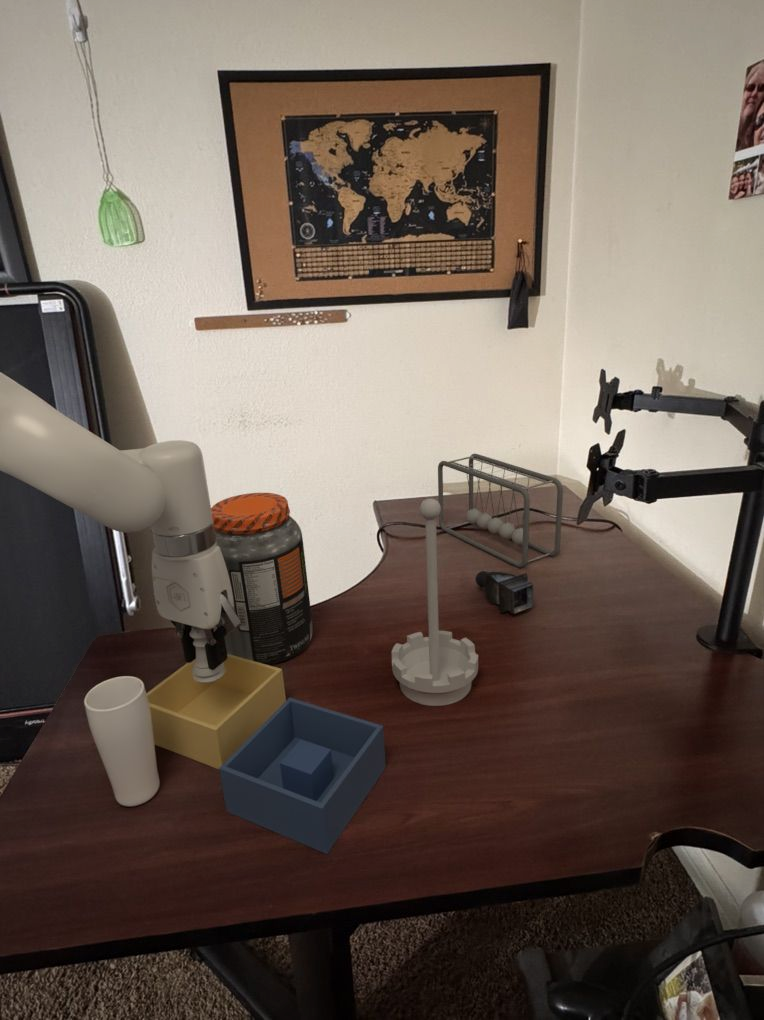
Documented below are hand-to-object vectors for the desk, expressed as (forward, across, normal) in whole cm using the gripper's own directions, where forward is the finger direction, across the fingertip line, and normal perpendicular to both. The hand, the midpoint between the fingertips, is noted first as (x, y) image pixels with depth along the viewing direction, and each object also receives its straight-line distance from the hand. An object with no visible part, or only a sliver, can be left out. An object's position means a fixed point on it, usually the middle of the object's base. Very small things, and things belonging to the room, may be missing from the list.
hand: (206, 659), depth 87 cm
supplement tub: (+11, -6, +20) cm, 24 cm away
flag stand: (+11, +25, +21) cm, 34 cm away
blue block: (+10, +19, -5) cm, 22 cm away
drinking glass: (+11, 0, -14) cm, 18 cm away
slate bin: (+11, +19, -5) cm, 22 cm away
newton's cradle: (+11, +17, +75) cm, 78 cm away
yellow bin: (+11, 0, 0) cm, 11 cm away
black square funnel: (+11, +27, +49) cm, 57 cm away
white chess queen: (+3, 0, 0) cm, 3 cm away
